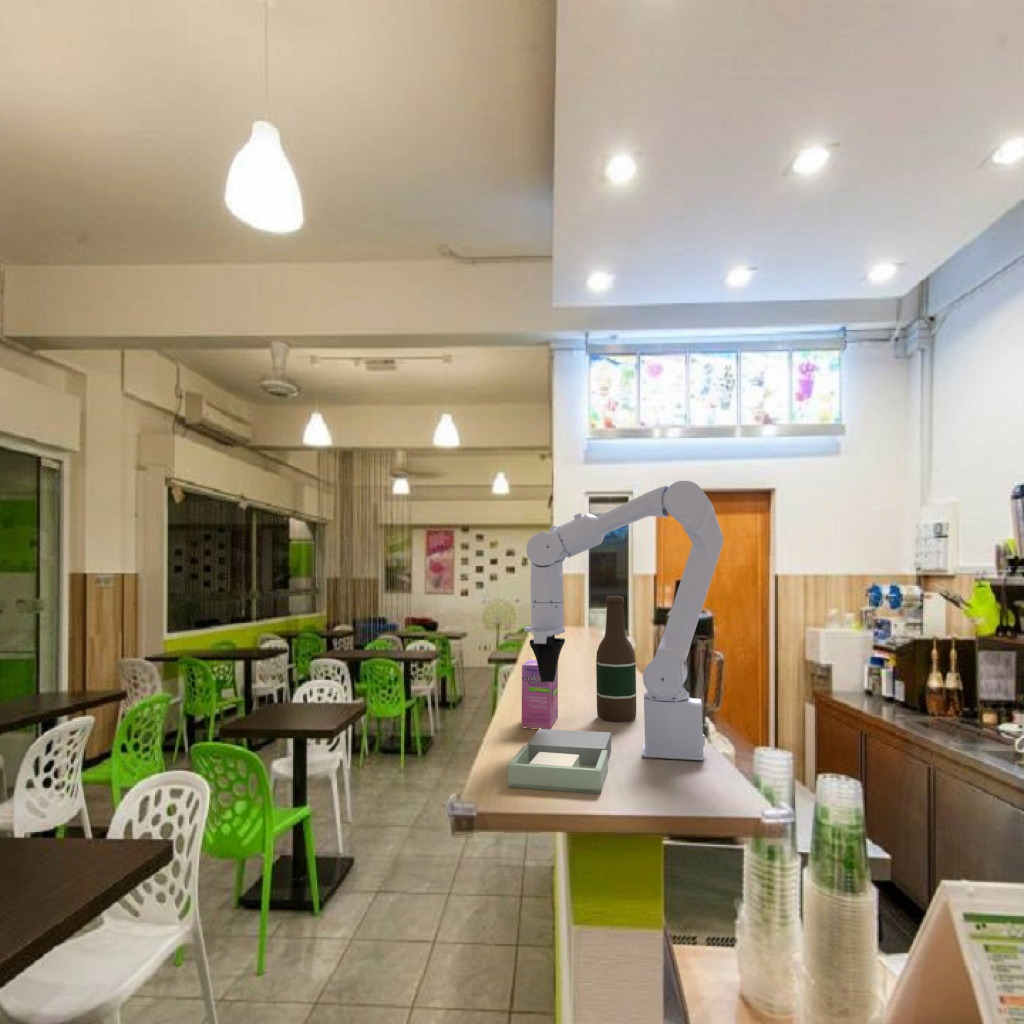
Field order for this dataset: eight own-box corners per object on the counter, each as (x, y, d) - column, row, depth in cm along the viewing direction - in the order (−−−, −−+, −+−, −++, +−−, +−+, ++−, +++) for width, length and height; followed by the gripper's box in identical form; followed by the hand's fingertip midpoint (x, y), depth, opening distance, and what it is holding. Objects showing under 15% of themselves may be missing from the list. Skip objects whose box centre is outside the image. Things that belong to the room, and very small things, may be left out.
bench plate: (611, 751, 112) (610, 732, 112) (605, 769, 102) (605, 748, 102) (539, 746, 115) (539, 728, 115) (527, 764, 105) (526, 744, 105)
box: (551, 730, 126) (550, 665, 127) (521, 728, 127) (520, 664, 128) (559, 717, 136) (558, 657, 137) (530, 716, 138) (530, 656, 138)
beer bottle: (636, 714, 139) (634, 595, 140) (636, 723, 131) (634, 597, 133) (597, 712, 140) (596, 595, 142) (595, 721, 132) (594, 597, 134)
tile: (571, 766, 94) (571, 785, 94) (579, 754, 99) (579, 772, 99) (529, 763, 95) (529, 781, 95) (539, 751, 101) (539, 769, 101)
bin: (608, 769, 102) (607, 749, 102) (600, 793, 92) (600, 770, 92) (524, 764, 105) (524, 744, 105) (508, 786, 95) (508, 764, 95)
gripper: (532, 599, 127) (533, 673, 126) (515, 604, 113) (515, 687, 112) (570, 599, 125) (571, 674, 124) (557, 604, 111) (558, 689, 110)
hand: (547, 681), depth 118 cm, fingers closed
